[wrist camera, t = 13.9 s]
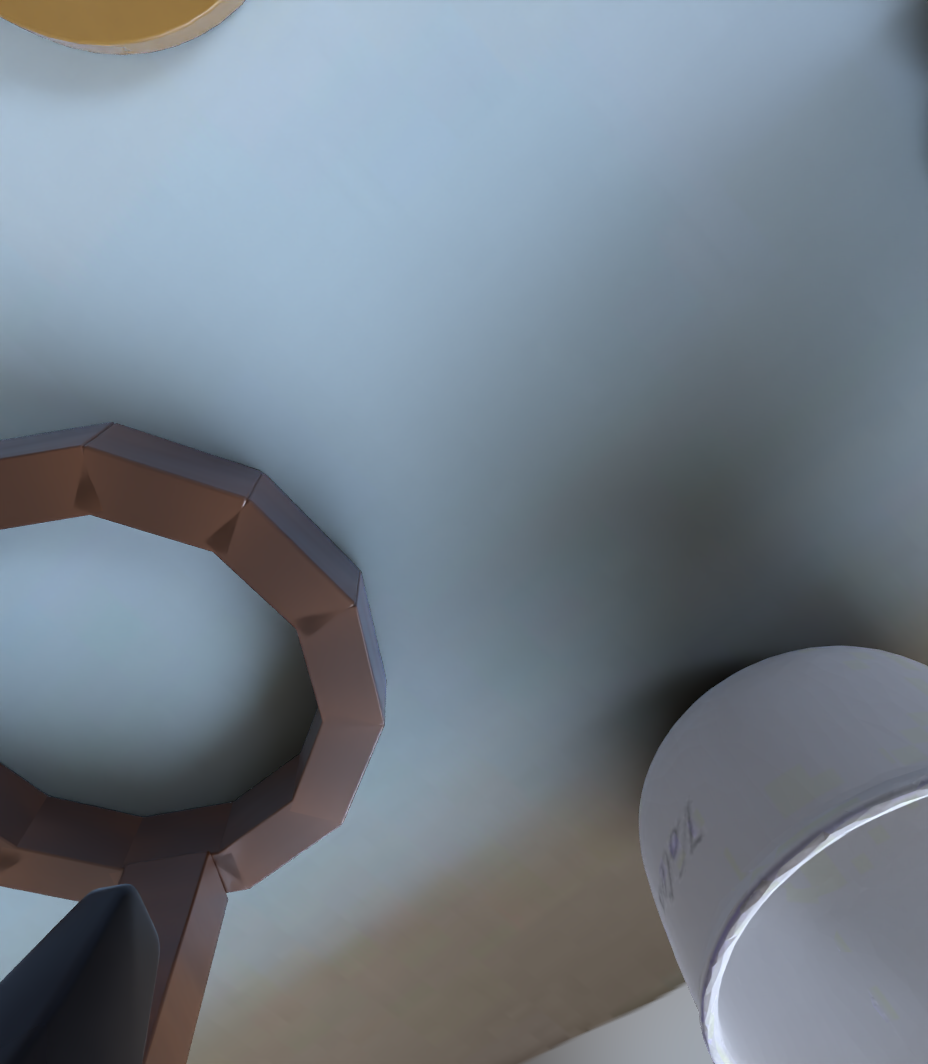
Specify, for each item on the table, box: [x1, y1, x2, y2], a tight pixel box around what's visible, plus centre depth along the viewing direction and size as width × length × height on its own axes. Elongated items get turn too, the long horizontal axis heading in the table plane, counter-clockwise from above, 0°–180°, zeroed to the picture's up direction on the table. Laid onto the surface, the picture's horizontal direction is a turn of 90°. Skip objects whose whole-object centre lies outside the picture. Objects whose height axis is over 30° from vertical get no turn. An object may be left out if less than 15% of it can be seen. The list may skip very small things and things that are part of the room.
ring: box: [0, 422, 386, 1064], centre depth 17 cm, size 14×14×8 cm
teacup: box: [639, 646, 928, 1064], centre depth 20 cm, size 14×11×8 cm
